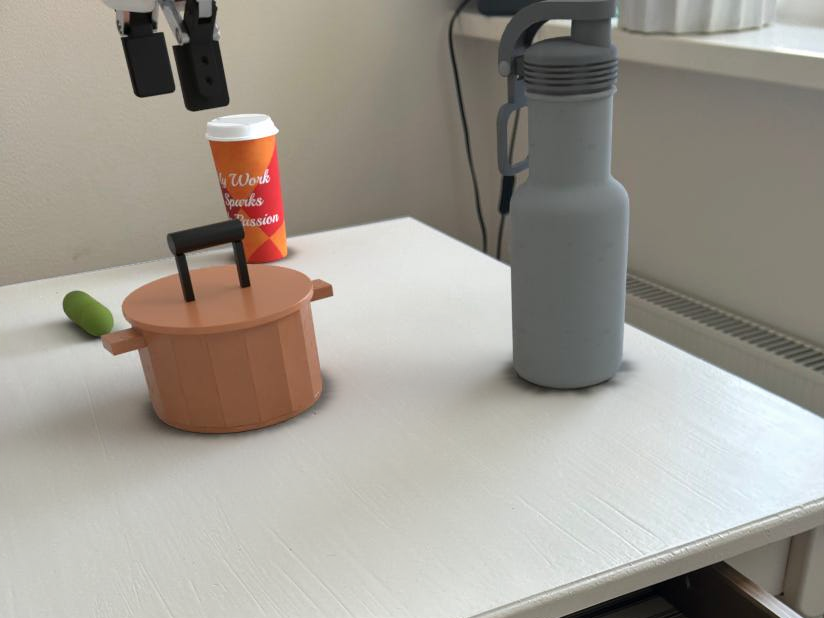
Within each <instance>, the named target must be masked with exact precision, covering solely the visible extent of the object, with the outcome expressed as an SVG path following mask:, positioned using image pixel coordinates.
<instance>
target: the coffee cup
mask: <svg viewBox="0 0 824 618" xmlns="http://www.w3.org/2000/svg"><path fill="white" fill-rule="evenodd" d="M274 123H275V122H274V121H273V120H272V119H271V116H269V115H268V114H263V113H241V114H240V113H239V114H230V115H226V116H220V117H216V118H214V119H212V120H210V121H207V123H206V132H205V134H204V138H205V139H206V140H208V142H209V147H210V151H211V155H212V159H213V162H214V166H215V167H214V168H215V171H216V174H217V179H218V183H219V187H220V191H221V195H222V199H223V202H224V207H225V211H226V215H227V219H228V220H232V219H236V218H237V219H239V220H240V221H241V222H242V224H243V227H244V230H245V238H244V240H241V241H243V246H244V252H245V257H246V262H247V264H264V263H265V264H266V263H271V262H275V261H278V260H281V259H283V258H285V257H287V255H288V243H287V231H286V224H285V223H286V222H285V211H284V202H283V193H282V184H281V176H280V166H279V157H278V148H277V147H278V146H277V137H276V134H278V133H279V131H280V130H279V129H278V128H277V127H276V125H275V124H274Z"/></svg>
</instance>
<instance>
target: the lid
mask: <svg viewBox="0 0 824 618" xmlns="http://www.w3.org/2000/svg"><path fill="white" fill-rule="evenodd" d="M244 238H245V230H244V227H243V224H242V222H241V221H240V220H239V219H237V218H236V219H232V220H229V219H228V220H223V221H220V222H219V221H218V222H214V223H210V224H209V223H208V224H206V225H201V226H196V227H192V228H186V229H183V230H179V231H173V232H169V233H167V235H166V243H167V246H168V249H169V251H170V253H171V254H172V255H173V256H174V260H175V265H176V269H177V273H173V274H169V275H166V276H163V277H160V278H157V279H155V280H151V281H150V282H148V283H145V284H143V285H141V286H140V287H138V288H136V289H134V290H132V292H130V293H129V294H128V295H127V296H125V298H124V300H123V301H122V304H121V312H122V315H123V317H124V319H125V322H127V323H128V324H130V326H131V325H133V326H135V327H137V328H140V329H143V330H146V331H150V332H156V333H163V334H176V335H199V334H213V333H222V332H229V331H235V330H241V329H246V328H250V327H254V326H258V325H262V324H266V323H269V322H272V321H275V320H278V319H280V318H283V317H285V316H287V315H290V314H292V313H294V312H295V311H297V310H299V309H301V308H302V307H303V306H305V305H306V304H307V303H308V302H309V301H310V299H311V298H312V296H313V292H314V291H313V285H312V280H311V278H310V277H309V276H308V275H306V274H305V273H303V272H301V271H299V270H296V269H293V268H291V267H285V266H281V265H280V266H279V265H272V264H261V263H247V262H246V257H245V252H244V246H243V241H241V240H244ZM226 244H231V246H232V251H233V257H234V261H235V264H225V265H214V266H208V267H201V268H196V269H190V268H189V265H188V260H187V255H186V254H188V253H192V252H198V251H200V250H205V249H209V248H214V247H218V246H223V245H226Z"/></svg>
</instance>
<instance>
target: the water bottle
mask: <svg viewBox="0 0 824 618" xmlns="http://www.w3.org/2000/svg"><path fill="white" fill-rule="evenodd" d="M617 3H618V1H617V0H542V1H538V2H533V3H531V4H529V5H526V6H523V7H522V8H521V9H519V11H517V12H516V13H515V14H514V15H513V16H512V17H511V19H510V20H509V22H508V23H506V25H505V28H504V30H503V32H502V34H501V37H500V41H499V45H498V50H497V52H498V53H497V71H498V73H499V75H500V76H501V77H503V78H506V80H507V81H506V82H507V83H506V84H507V102H506V103H503V104H502V105H501V106H500V107H499V109H498V111H497V115H496V125H495V126H496V153H497V157H496V158H497V168H498V172H499V173H500V175H502V176H504V177H506V176H507V177H512V176H515V175H516V174H519V173H521V172H523V171H526V170H528V176H527V178H526V180H524V181H523V182H522V183H520V184H519V185H518V186H517V188H515V190H514V192H513V193H512V195H511V197H510V201H509V211H508V213H509V214H508V215H509V253H510V254H509V255H510V257H509V259H510V296H511V335H512V337H511V339H512V364H513V368H514V369H515V370H514V371H516V373H517V374H518V375H519V377H521V378H522V379H524V380H526V381H527V382H529V383H531V384H534V385H538V386H541V387H546V388H550V389H551V388H552V389H563V390H564V389H565V390H566V389H580V388H587V387H591V386H594V385H598V384H601V383H603V382H605V381H608V380H609V379H611V378H612V377H614V376H615V375H616V374H617V373H618V372H619V370H620V369H621V367H622V363H623V358H624V357H623V356H624V338H625V336H624V335H625V314H626V293H627V275H628V273H627V272H628V271H627V270H628V252H629V251H628V250H629V230H630V229H629V227H630V198H629V194H628V191H627V190H626V188H625V187H624V185H623V184H622V183H621V182H620V181H618V180H617V179H616V178H614V177H613V175H612V173H611V168H612V167H611V166H612V144H613V143H612V142H613V141H612V139H613V137H612V136H613V112H614V111H613V109H614V95H615V94H616V93H617V91H618V88H617V86H616V84H617V83H618V76H617V75H618V68H619V66H618V61H619V60H618V59H619V58H618V57H619V48H618V46H617V45H616V44H614V43H613V41H612V37H613V36H612V18H616V17H617ZM554 20H557V21H558V20H559V21H560V20H564V21H565V20H567V21H570V35H562V36H555V37H549V38H545V39H542V40H539V41H536V42H534V41H535V38H536V36H537V35H538V33H539V31H541V29H542V28H543V26H544V25H545V24H547V23H548V22H549V21H554ZM525 107H527V135H528V137H527V143H528V144H527V148H528V154H527V155H526V157H525V158H524V159H523V160H521V161H519V162H516V163H514V164H512V165H511V164H510V161H509V154H508V153H509V152H508V122H509V119H510V116H511V114H512V113H513V112H515V111H517V110H519V109H522V108H525Z"/></svg>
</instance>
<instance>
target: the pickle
mask: <svg viewBox="0 0 824 618" xmlns="http://www.w3.org/2000/svg"><path fill="white" fill-rule="evenodd" d="M62 310H63V312H64V314H65V315H66V317H67V318H69V320H71V321H72V322H74V323H75V324H76V325H77V326H79V328H81V329H83V331H85V332H86V333H87V334H89V335H91V336H93V337H101V336H102V335H105V334H109V333H111V331H112V330H113V328H114V325H115V319H114V316H113V313H112V312H111V310H110V309H109V308H108V307H107V306H105V305H104V304H103V303H101V302H100V301H98V300H97V299H95V298H94V297H92V296H91V295H90V294H88V293H87V292H85V291H83V290H77V289H76V290H71V291H69V292H68V293H66V295H65V296H64V297H63V299H62Z"/></svg>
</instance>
